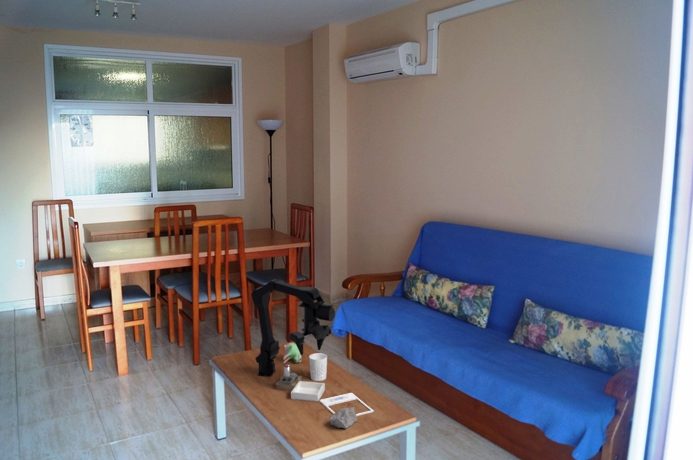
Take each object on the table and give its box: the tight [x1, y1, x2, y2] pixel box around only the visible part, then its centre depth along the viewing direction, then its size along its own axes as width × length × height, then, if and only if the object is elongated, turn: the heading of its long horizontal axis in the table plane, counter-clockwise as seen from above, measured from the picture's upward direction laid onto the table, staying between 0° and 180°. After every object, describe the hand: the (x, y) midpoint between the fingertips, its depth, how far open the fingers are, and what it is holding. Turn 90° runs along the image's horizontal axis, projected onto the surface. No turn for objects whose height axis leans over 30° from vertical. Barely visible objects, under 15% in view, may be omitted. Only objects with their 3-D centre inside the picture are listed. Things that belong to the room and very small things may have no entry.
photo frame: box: [319, 392, 374, 417], centre depth 221 cm, size 15×1×18 cm
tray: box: [290, 380, 326, 403], centre depth 231 cm, size 11×11×3 cm
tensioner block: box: [275, 372, 303, 392], centre depth 240 cm, size 10×8×4 cm
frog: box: [283, 342, 302, 364], centre depth 267 cm, size 12×10×9 cm
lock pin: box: [282, 362, 292, 382], centre depth 237 cm, size 3×3×8 cm
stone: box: [329, 406, 358, 429], centre depth 207 cm, size 8×10×6 cm
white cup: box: [308, 352, 328, 382], centre depth 247 cm, size 8×8×10 cm
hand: (310, 352), depth 242 cm, fingers open, 9 cm apart
